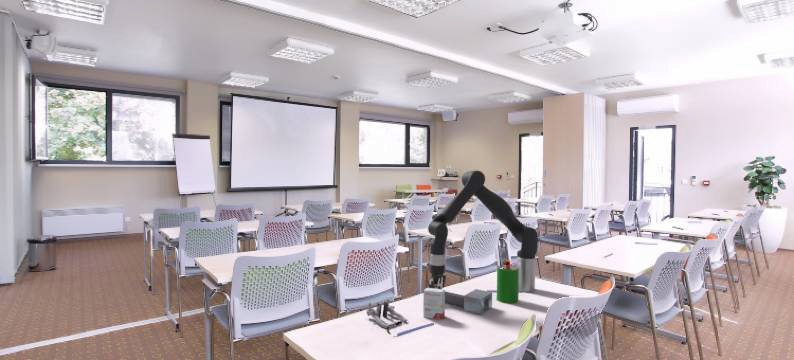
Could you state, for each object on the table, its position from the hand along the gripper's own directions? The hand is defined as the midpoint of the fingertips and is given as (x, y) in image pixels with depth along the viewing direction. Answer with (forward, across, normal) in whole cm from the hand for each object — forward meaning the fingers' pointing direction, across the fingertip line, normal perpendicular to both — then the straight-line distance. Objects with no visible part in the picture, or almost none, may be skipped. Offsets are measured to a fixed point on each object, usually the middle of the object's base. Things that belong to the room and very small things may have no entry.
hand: (436, 298), depth 197 cm
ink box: (+1, -20, -10) cm, 22 cm away
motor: (+1, +20, -28) cm, 34 cm away
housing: (+1, 0, -22) cm, 22 cm away
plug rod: (0, 0, -6) cm, 7 cm away
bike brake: (+1, -36, +1) cm, 36 cm away
